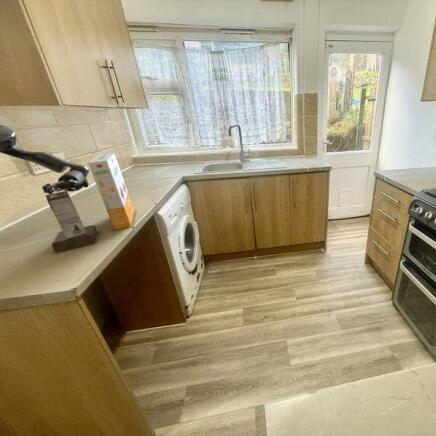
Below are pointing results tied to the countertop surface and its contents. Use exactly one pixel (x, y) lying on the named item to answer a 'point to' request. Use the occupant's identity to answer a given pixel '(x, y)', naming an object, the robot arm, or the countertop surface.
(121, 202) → the cereal box
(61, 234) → the block
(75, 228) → the coffee box
